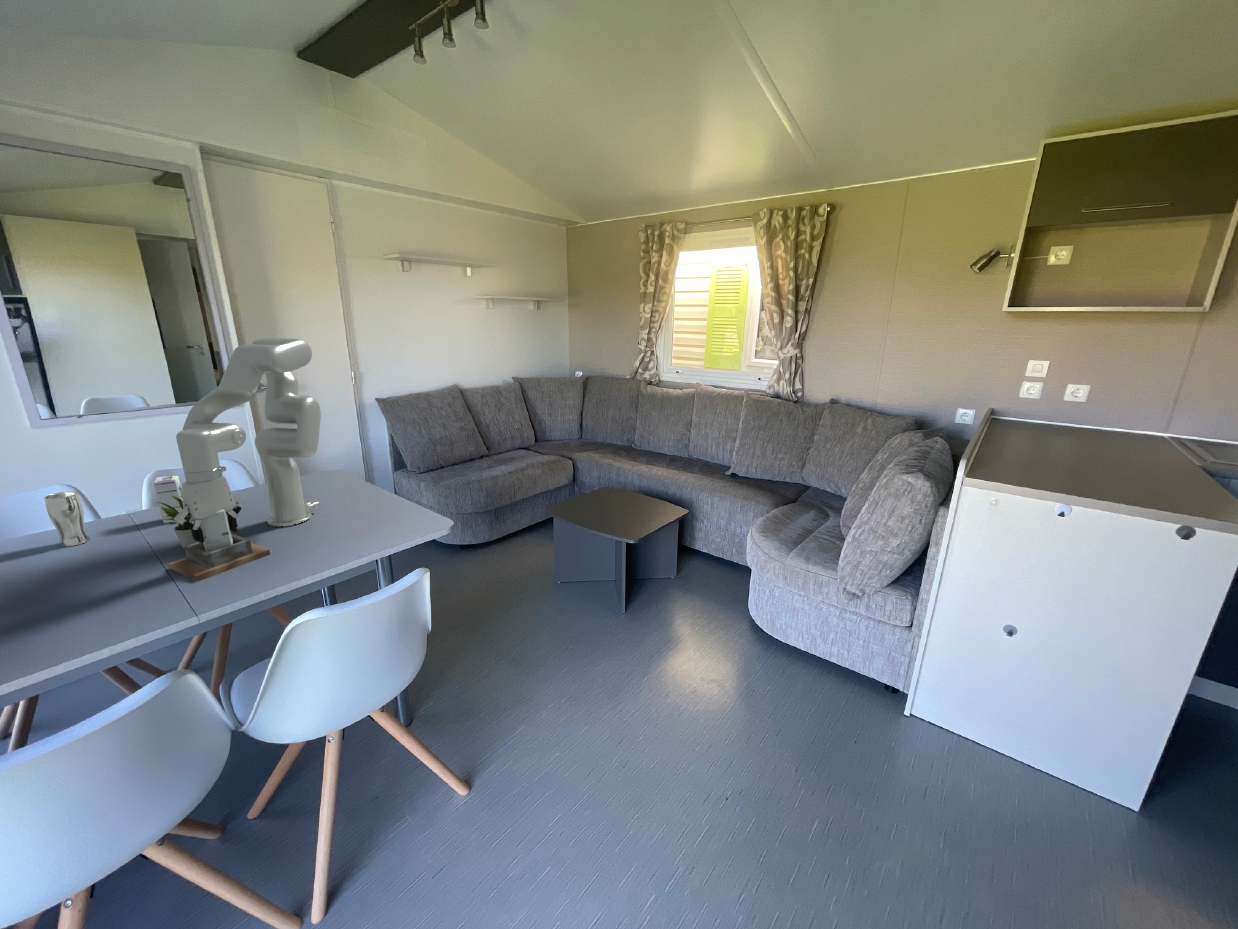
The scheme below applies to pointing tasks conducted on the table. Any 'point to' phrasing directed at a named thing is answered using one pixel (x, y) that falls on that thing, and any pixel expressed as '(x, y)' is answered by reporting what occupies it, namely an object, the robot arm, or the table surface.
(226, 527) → the skincare box
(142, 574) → the table surface
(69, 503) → the beer glass
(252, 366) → the robot arm
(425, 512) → the table surface
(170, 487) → the syrup box
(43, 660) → the table surface
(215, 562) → the socket
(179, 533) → the house plant
